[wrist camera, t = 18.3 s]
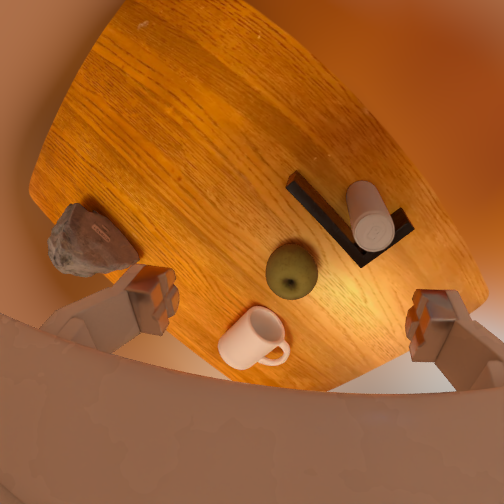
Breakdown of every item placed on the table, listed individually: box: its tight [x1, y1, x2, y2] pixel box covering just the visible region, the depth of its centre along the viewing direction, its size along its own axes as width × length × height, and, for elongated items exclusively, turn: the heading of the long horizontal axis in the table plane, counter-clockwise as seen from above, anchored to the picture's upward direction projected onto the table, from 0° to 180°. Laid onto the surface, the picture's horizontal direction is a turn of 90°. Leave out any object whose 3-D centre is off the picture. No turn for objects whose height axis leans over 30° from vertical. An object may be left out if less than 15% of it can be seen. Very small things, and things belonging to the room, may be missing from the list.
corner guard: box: [286, 170, 414, 268], centre depth 40 cm, size 10×16×5 cm, turn 47°
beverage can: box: [346, 181, 395, 252], centre depth 36 cm, size 5×5×12 cm
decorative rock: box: [48, 203, 140, 277], centre depth 47 cm, size 16×7×15 cm, turn 40°
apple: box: [266, 244, 318, 300], centre depth 46 cm, size 8×8×7 cm
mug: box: [218, 306, 290, 370], centre depth 54 cm, size 12×10×8 cm
